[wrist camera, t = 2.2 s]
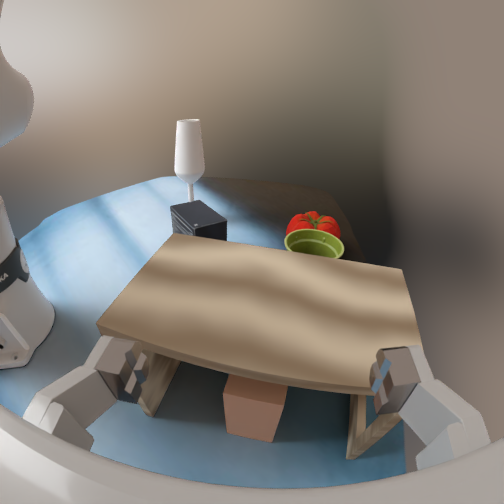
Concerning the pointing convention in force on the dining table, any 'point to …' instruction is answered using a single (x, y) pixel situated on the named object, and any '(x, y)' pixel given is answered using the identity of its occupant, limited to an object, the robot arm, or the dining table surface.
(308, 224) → the tomato
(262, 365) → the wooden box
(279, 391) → the terracotta block
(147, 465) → the dining table surface
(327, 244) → the plant pot
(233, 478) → the dining table surface
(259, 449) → the dining table surface
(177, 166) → the champagne flute
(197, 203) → the small box
